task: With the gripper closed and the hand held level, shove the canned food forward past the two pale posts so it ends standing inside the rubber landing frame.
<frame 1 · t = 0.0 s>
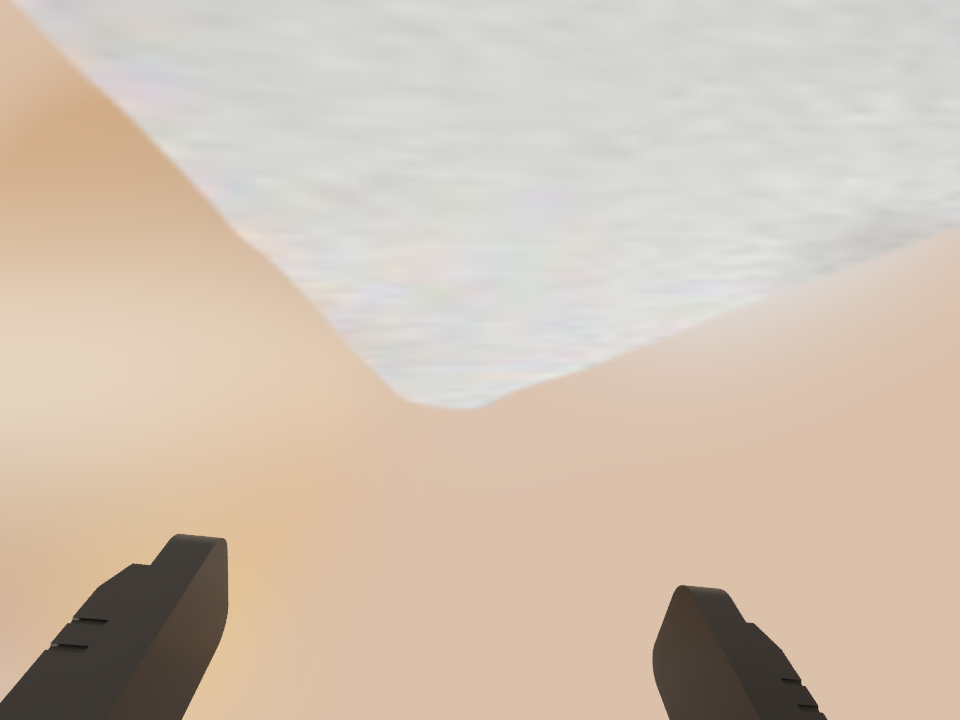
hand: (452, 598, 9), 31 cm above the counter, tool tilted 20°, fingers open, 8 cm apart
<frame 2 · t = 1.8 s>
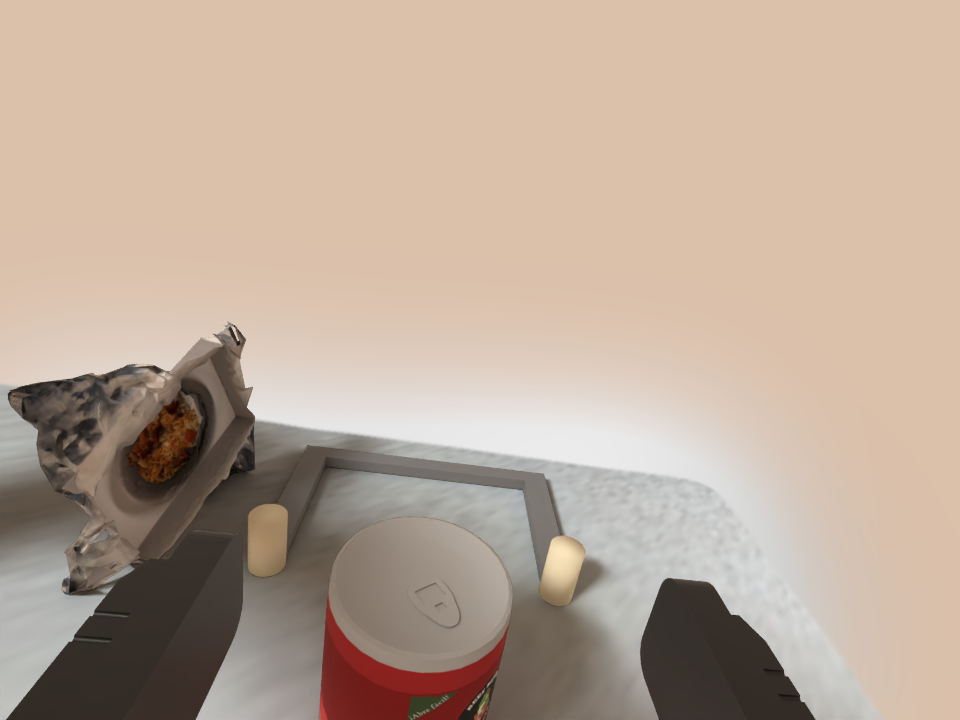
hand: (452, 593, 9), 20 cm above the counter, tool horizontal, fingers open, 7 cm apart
landing frame: (421, 521, 42), on the counter
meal: (167, 524, 37), on the counter
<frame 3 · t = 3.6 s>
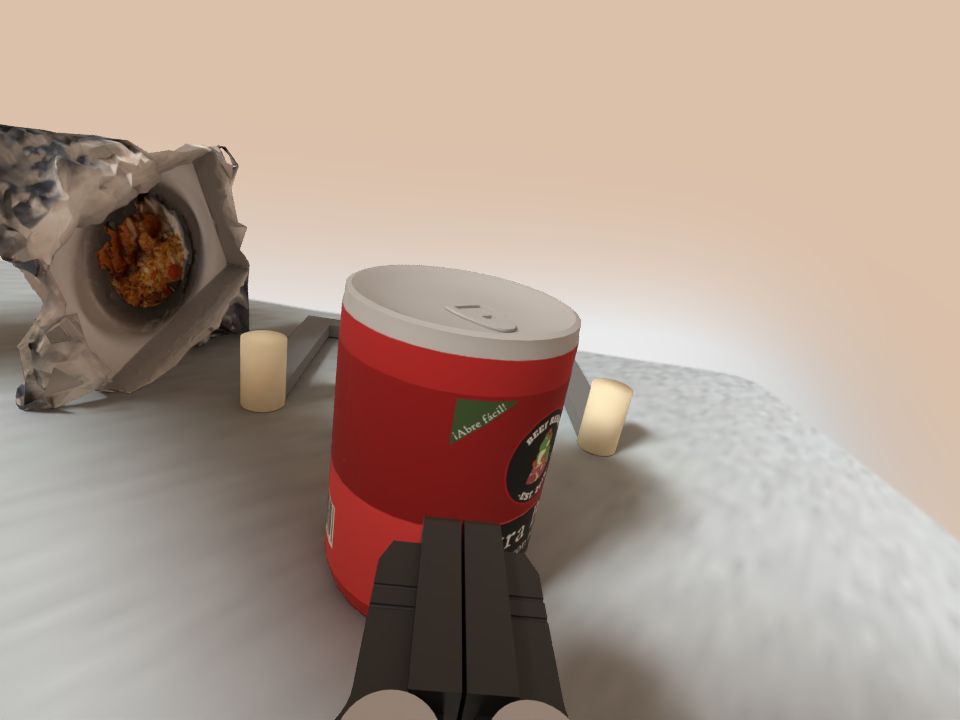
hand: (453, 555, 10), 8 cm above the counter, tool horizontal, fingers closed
landing frame: (438, 383, 37), on the counter
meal: (147, 367, 32), on the counter
canned food: (422, 561, 21), on the counter
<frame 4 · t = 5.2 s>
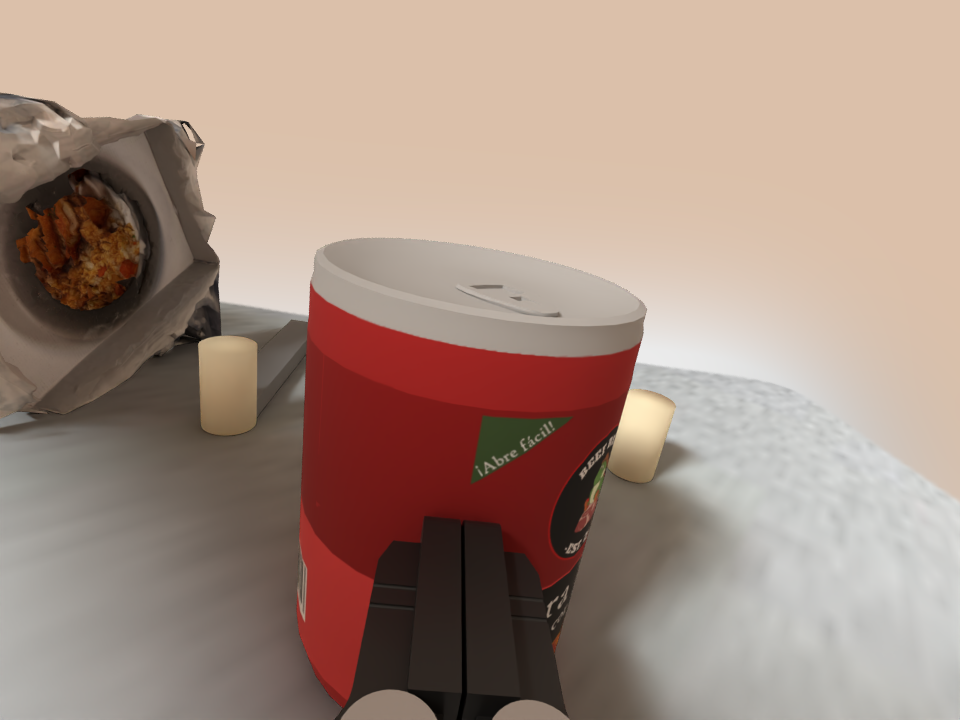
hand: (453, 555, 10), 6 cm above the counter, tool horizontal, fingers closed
landing frame: (440, 396, 32), on the counter
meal: (93, 382, 27), on the counter
canned food: (425, 625, 16), on the counter, touching gripper
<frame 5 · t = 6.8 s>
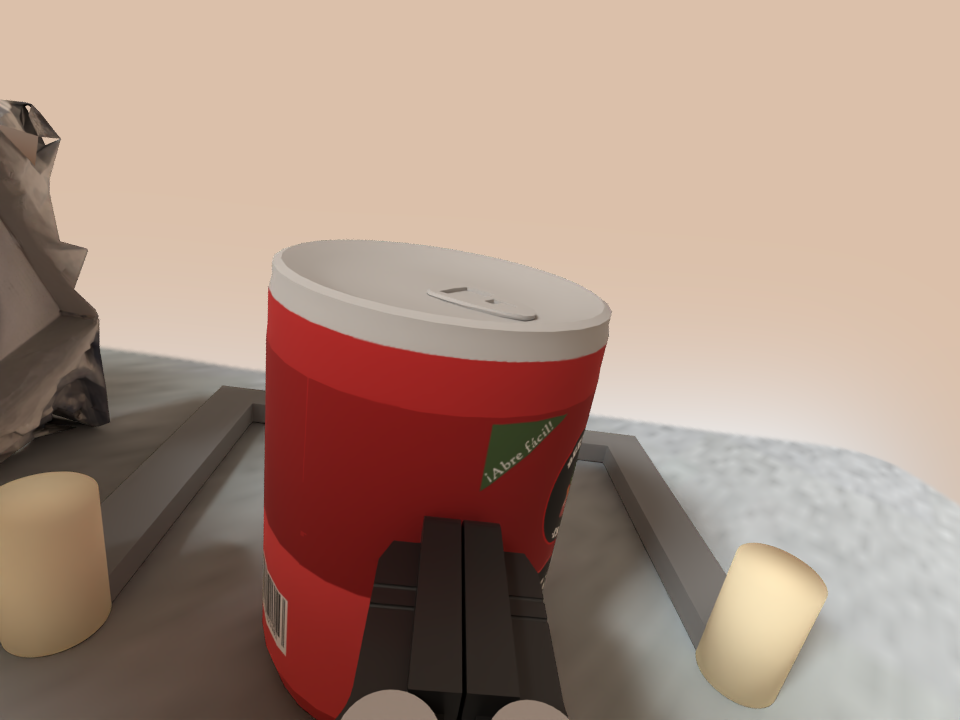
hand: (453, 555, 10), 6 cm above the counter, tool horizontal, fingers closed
landing frame: (428, 517, 21), on the counter
canned food: (396, 629, 16), on the counter, touching gripper
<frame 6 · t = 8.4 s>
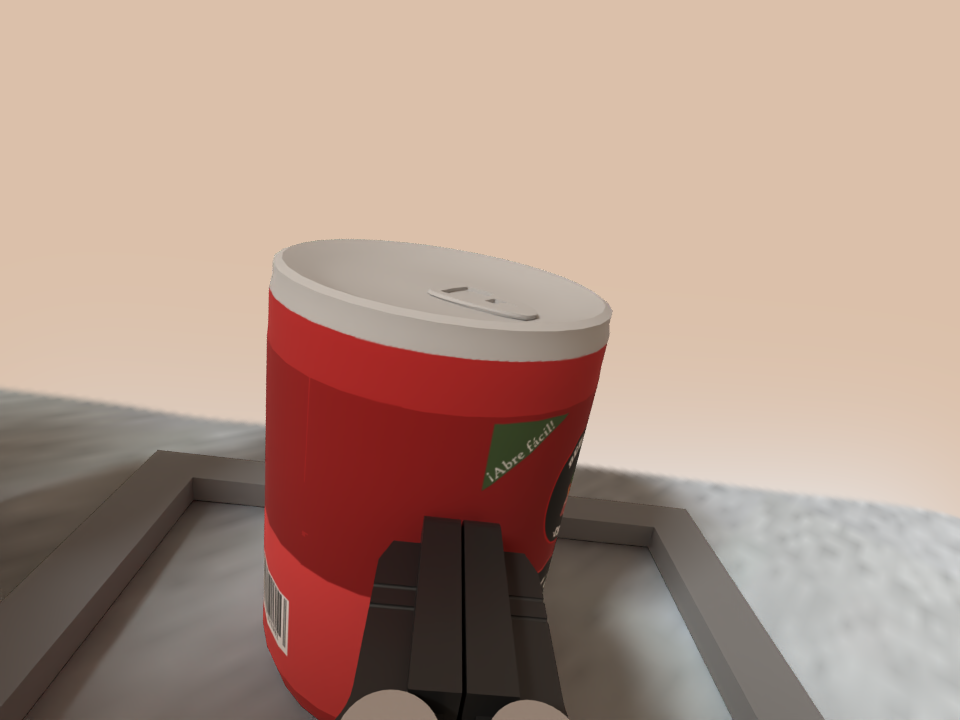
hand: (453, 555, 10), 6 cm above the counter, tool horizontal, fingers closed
landing frame: (419, 659, 15), on the counter
canned food: (397, 628, 16), on the counter, touching gripper
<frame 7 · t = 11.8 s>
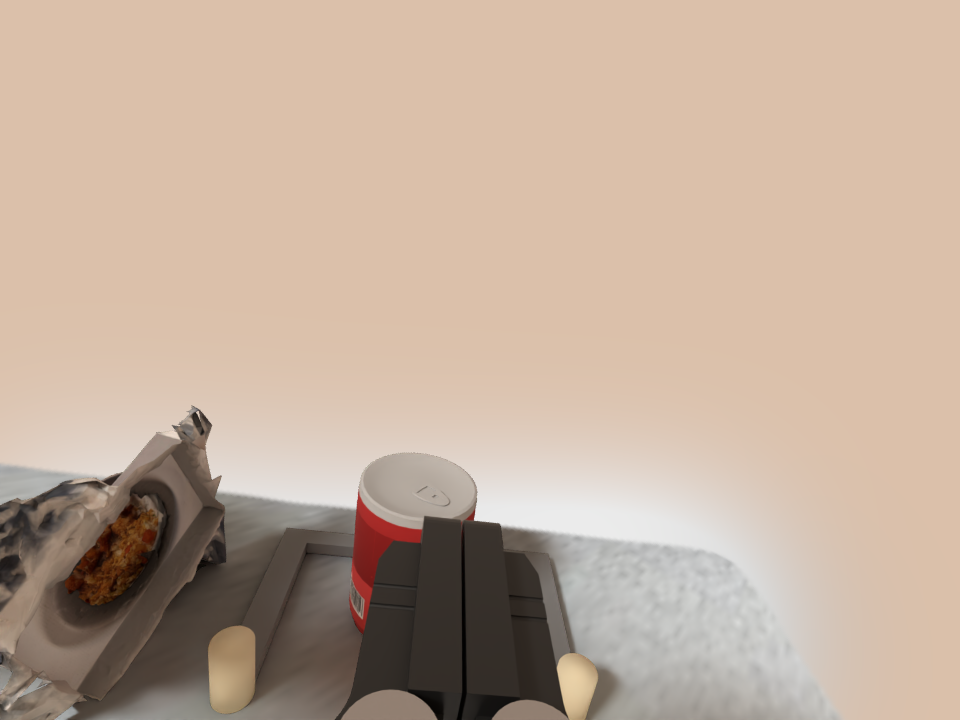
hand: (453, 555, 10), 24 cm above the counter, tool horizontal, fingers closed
landing frame: (411, 623, 37), on the counter
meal: (121, 642, 33), on the counter
canned food: (402, 611, 38), on the counter
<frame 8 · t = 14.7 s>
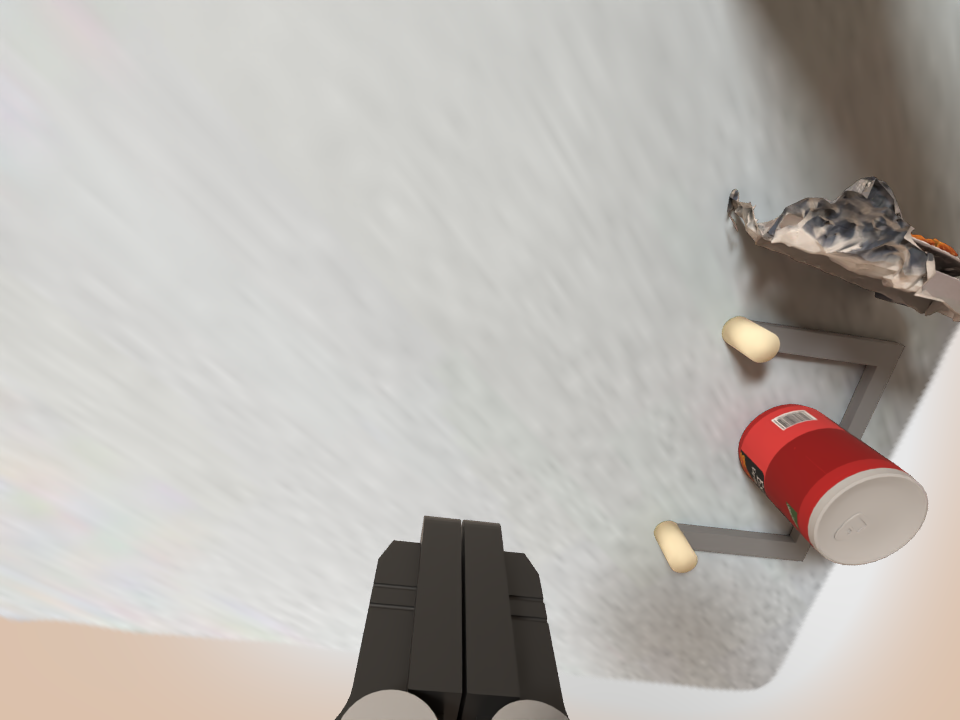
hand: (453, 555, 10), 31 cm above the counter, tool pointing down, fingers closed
landing frame: (763, 446, 46), on the counter
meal: (806, 236, 40), on the counter
canned food: (778, 439, 46), on the counter
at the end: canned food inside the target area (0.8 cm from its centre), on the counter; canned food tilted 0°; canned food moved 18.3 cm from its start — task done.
